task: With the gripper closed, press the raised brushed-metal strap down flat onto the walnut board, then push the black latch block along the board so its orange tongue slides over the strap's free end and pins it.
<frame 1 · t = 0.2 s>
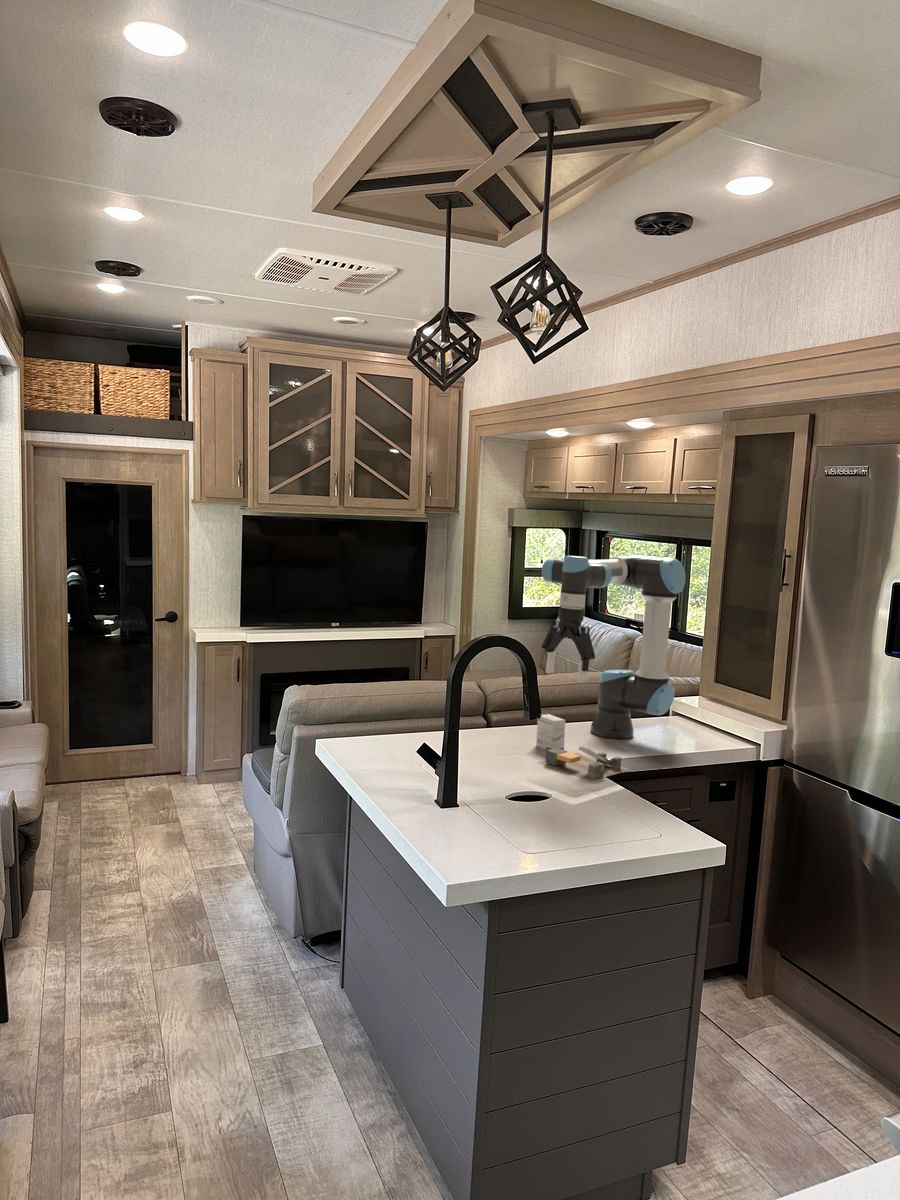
hand: (565, 677, 251), 27 cm above the worktop, fingers open, 13 cm apart
strap: (597, 755, 247), point 6 cm above the worktop, hinge at 25.0°
latch: (563, 759, 248), point 4 cm above the worktop, slide at 0.0 cm
ink box: (548, 753, 267), on the worktop
board: (583, 770, 250), on the worktop
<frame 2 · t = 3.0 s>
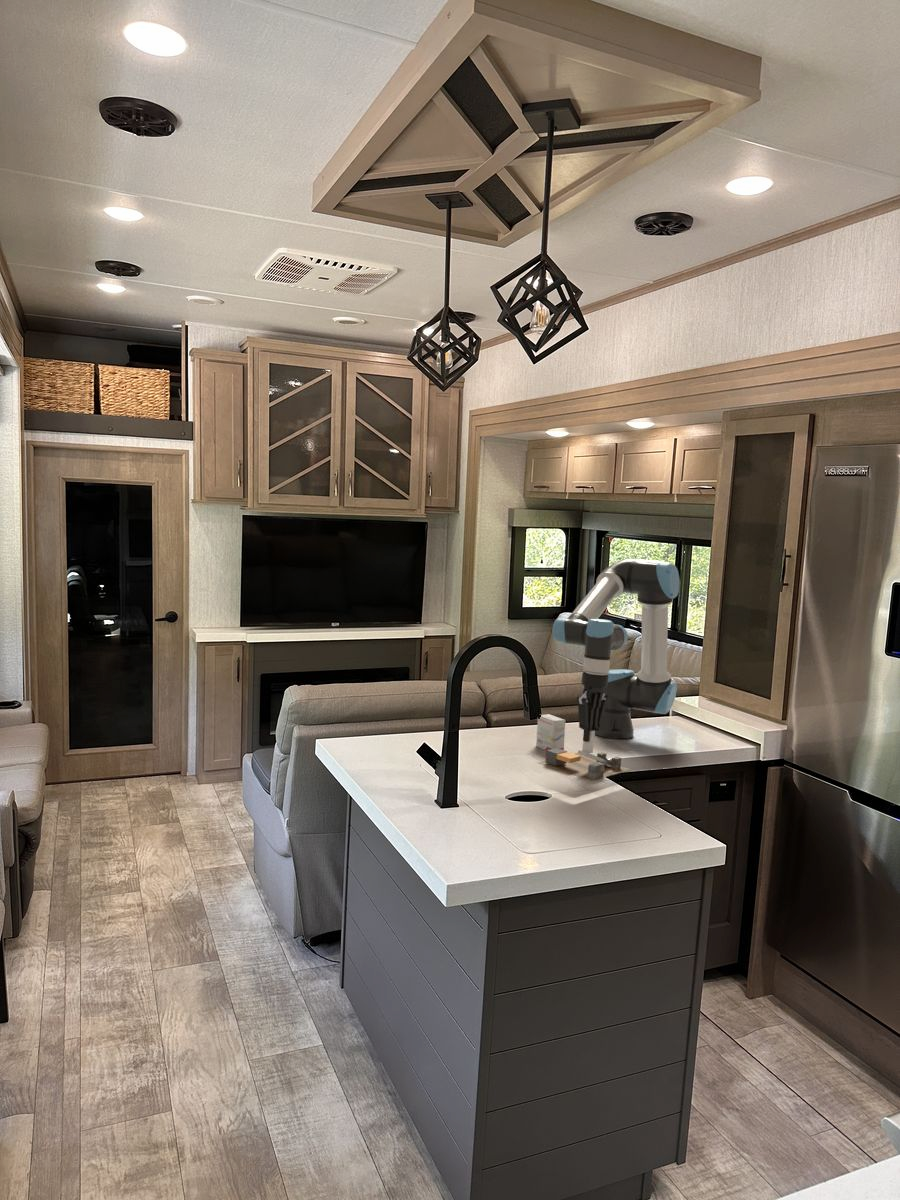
hand: (587, 751, 243), 8 cm above the worktop, fingers closed
strap: (596, 757, 247), point 5 cm above the worktop, hinge at 20.4°, touching gripper
everything else where it was.
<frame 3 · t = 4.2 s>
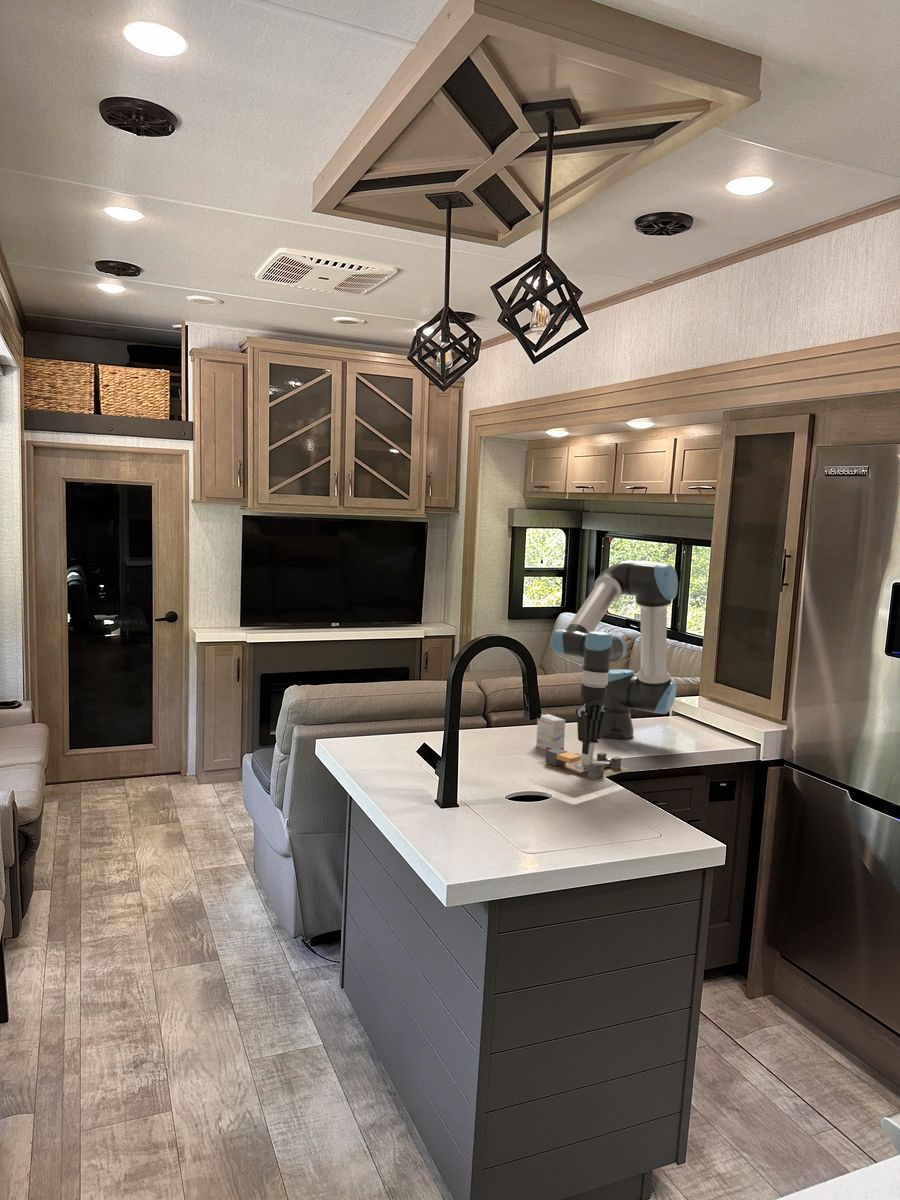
hand: (586, 764, 244), 4 cm above the worktop, fingers closed, pressing on strap
strap: (595, 764, 247), point 3 cm above the worktop, hinge at 3.8°, touching gripper
everything else where it was.
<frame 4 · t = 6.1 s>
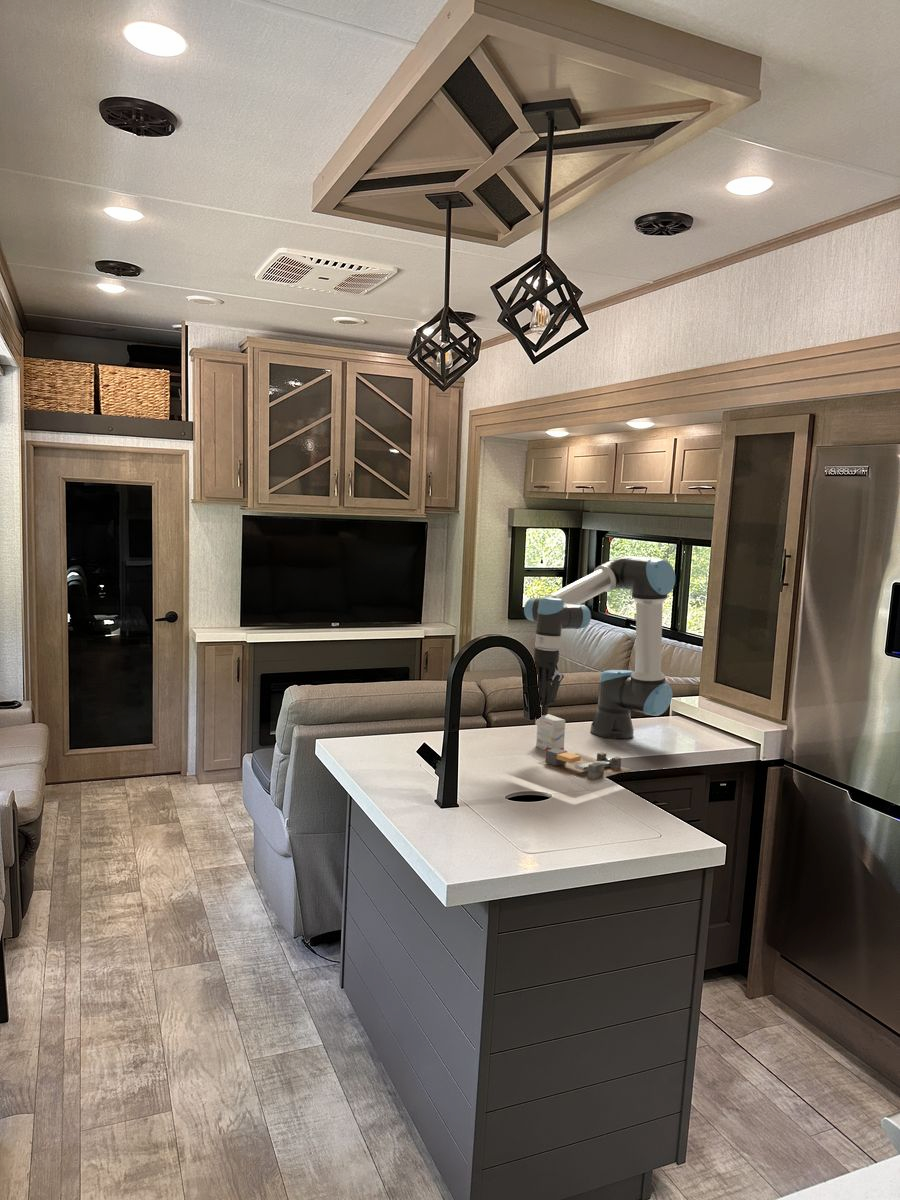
hand: (539, 724, 253), 12 cm above the worktop, fingers closed
strap: (595, 764, 247), point 3 cm above the worktop, hinge at 3.8°
everything else where it was.
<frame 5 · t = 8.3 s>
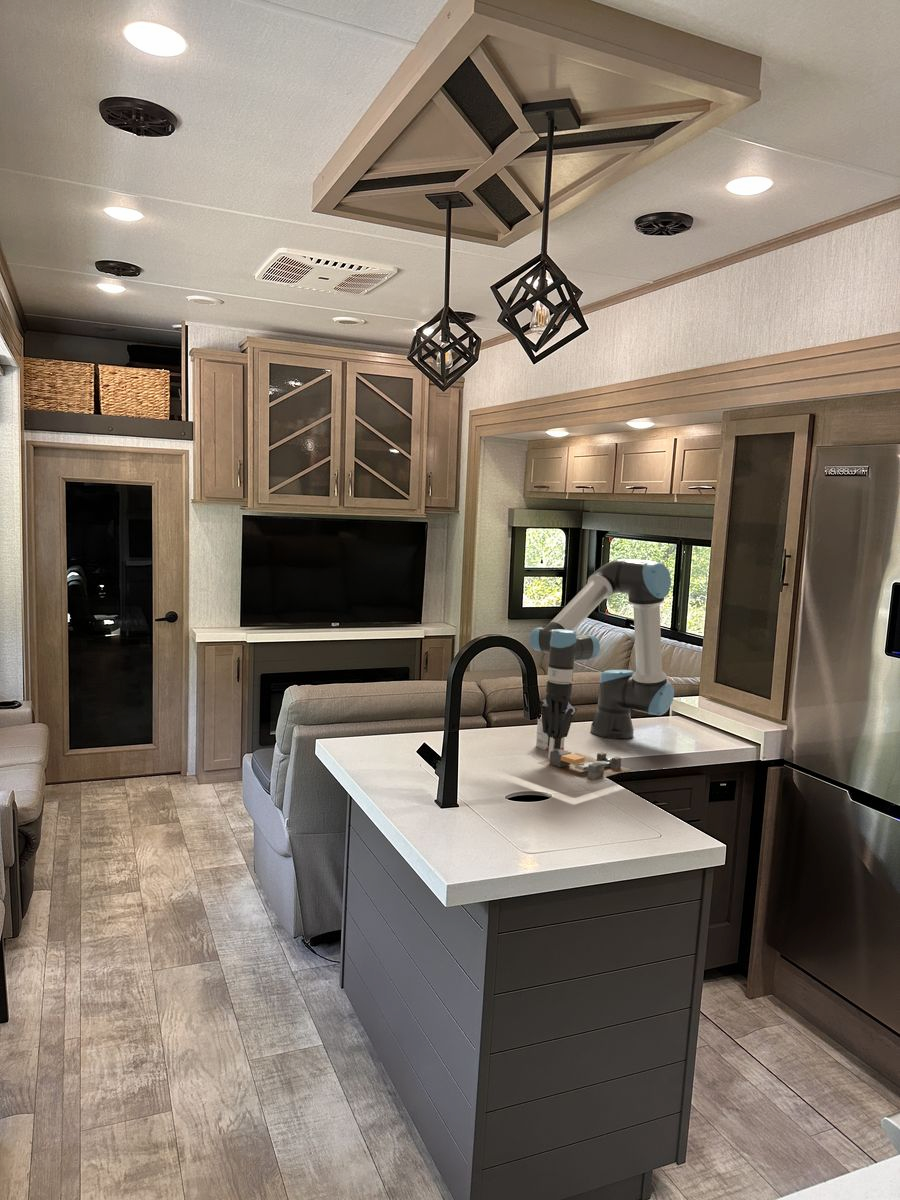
hand: (552, 758, 250), 3 cm above the worktop, fingers closed
latch: (567, 760, 247), point 4 cm above the worktop, slide at 1.5 cm, touching gripper
everything else where it was.
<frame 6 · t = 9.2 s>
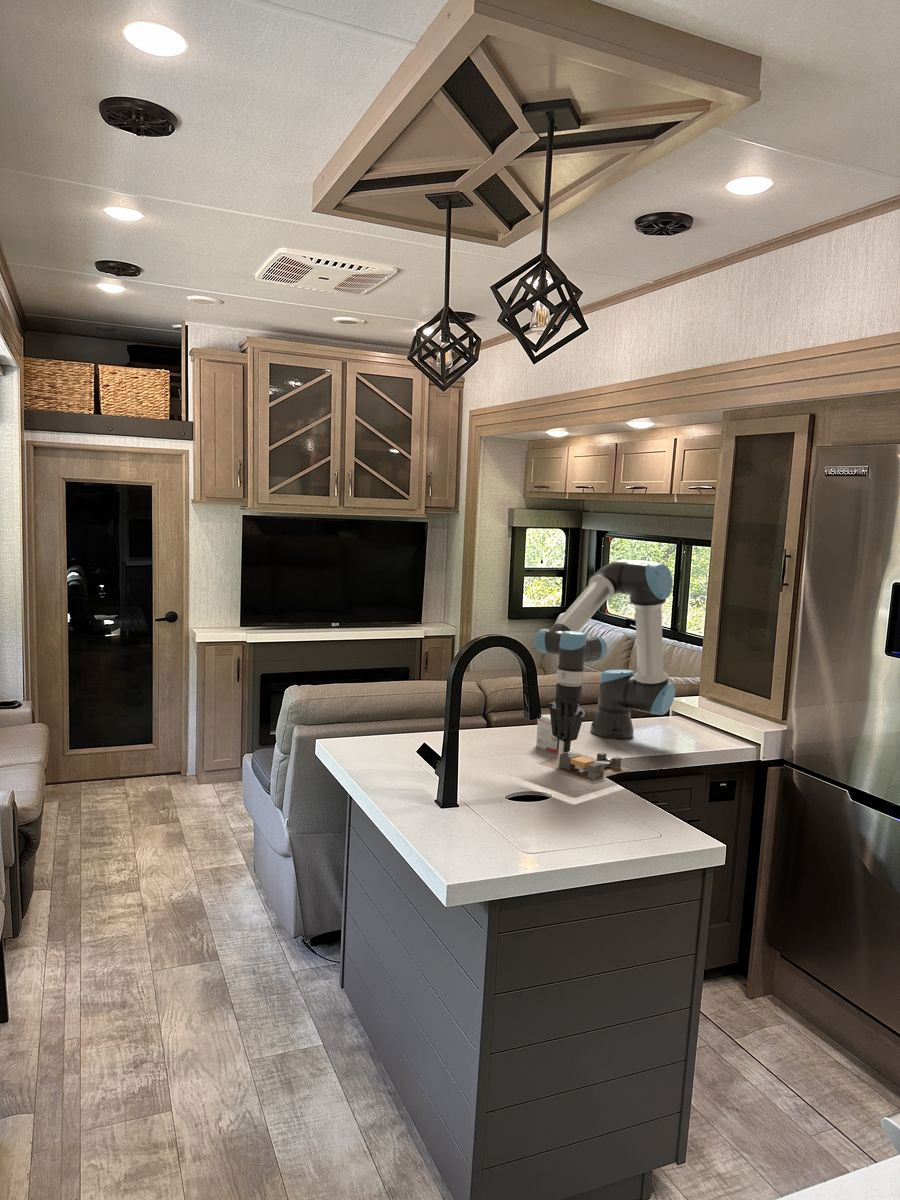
hand: (562, 761, 248), 3 cm above the worktop, fingers closed
latch: (576, 763, 244), point 4 cm above the worktop, slide at 5.1 cm, touching gripper
everything else where it was.
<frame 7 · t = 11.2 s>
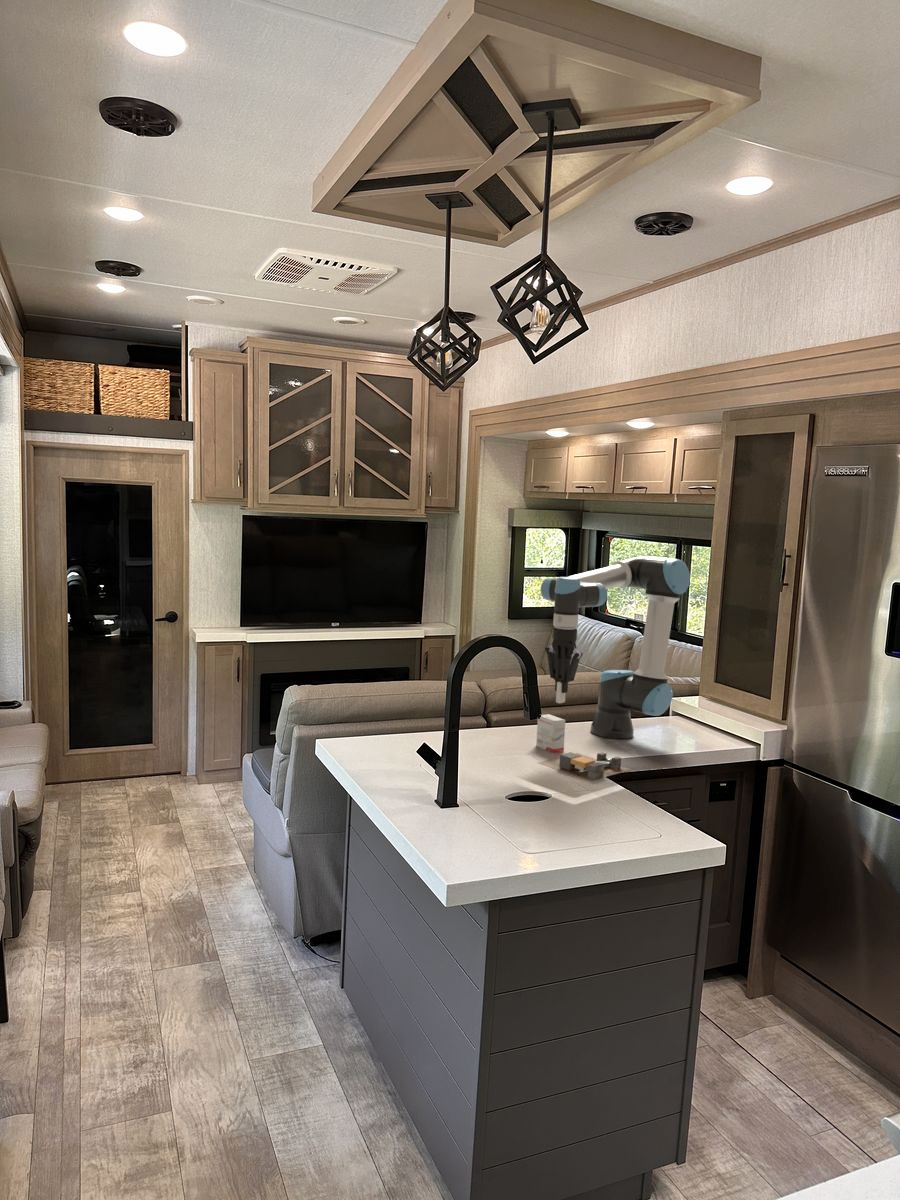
hand: (560, 702, 258), 18 cm above the worktop, fingers closed
latch: (577, 763, 244), point 4 cm above the worktop, slide at 5.2 cm
everything else where it was.
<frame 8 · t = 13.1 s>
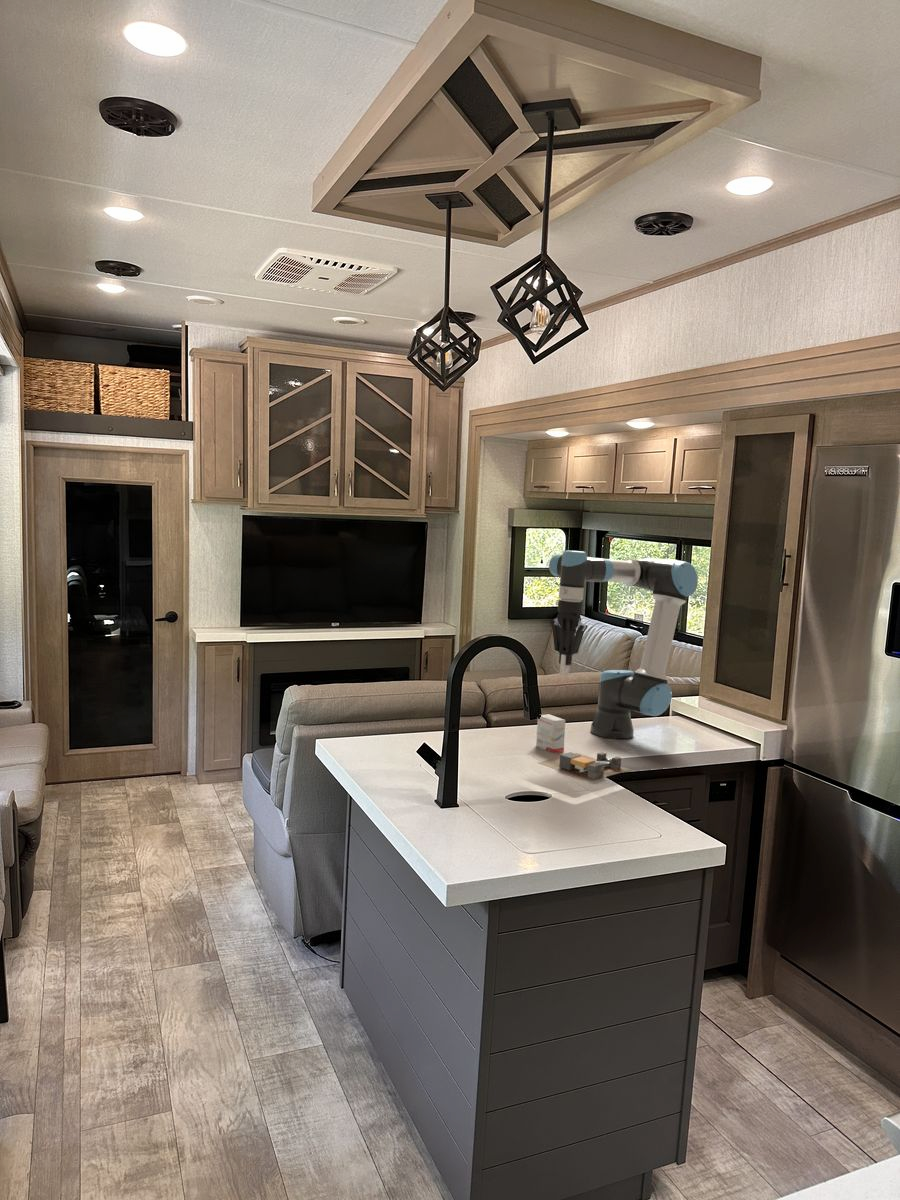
hand: (564, 674, 261), 26 cm above the worktop, fingers closed
nothing on the worktop moved.
at the end: strap at +4° (first picture: +25°); latch slide at 5.2 cm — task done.
